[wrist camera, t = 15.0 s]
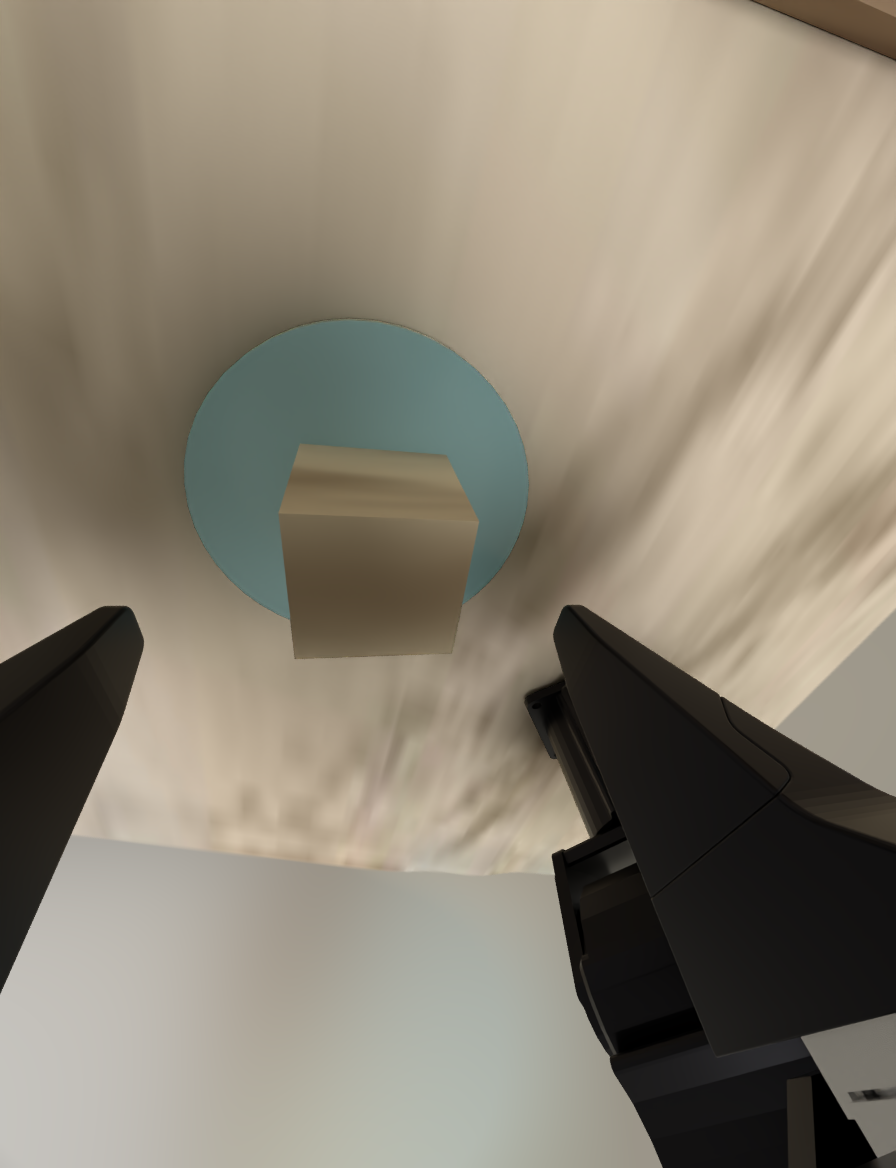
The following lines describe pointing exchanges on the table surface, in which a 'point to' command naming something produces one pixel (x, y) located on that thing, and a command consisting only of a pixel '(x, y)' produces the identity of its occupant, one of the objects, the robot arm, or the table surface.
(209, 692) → the table surface
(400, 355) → the teal saucer
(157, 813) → the table surface
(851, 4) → the puzzle board
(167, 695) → the table surface
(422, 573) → the block
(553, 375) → the table surface
